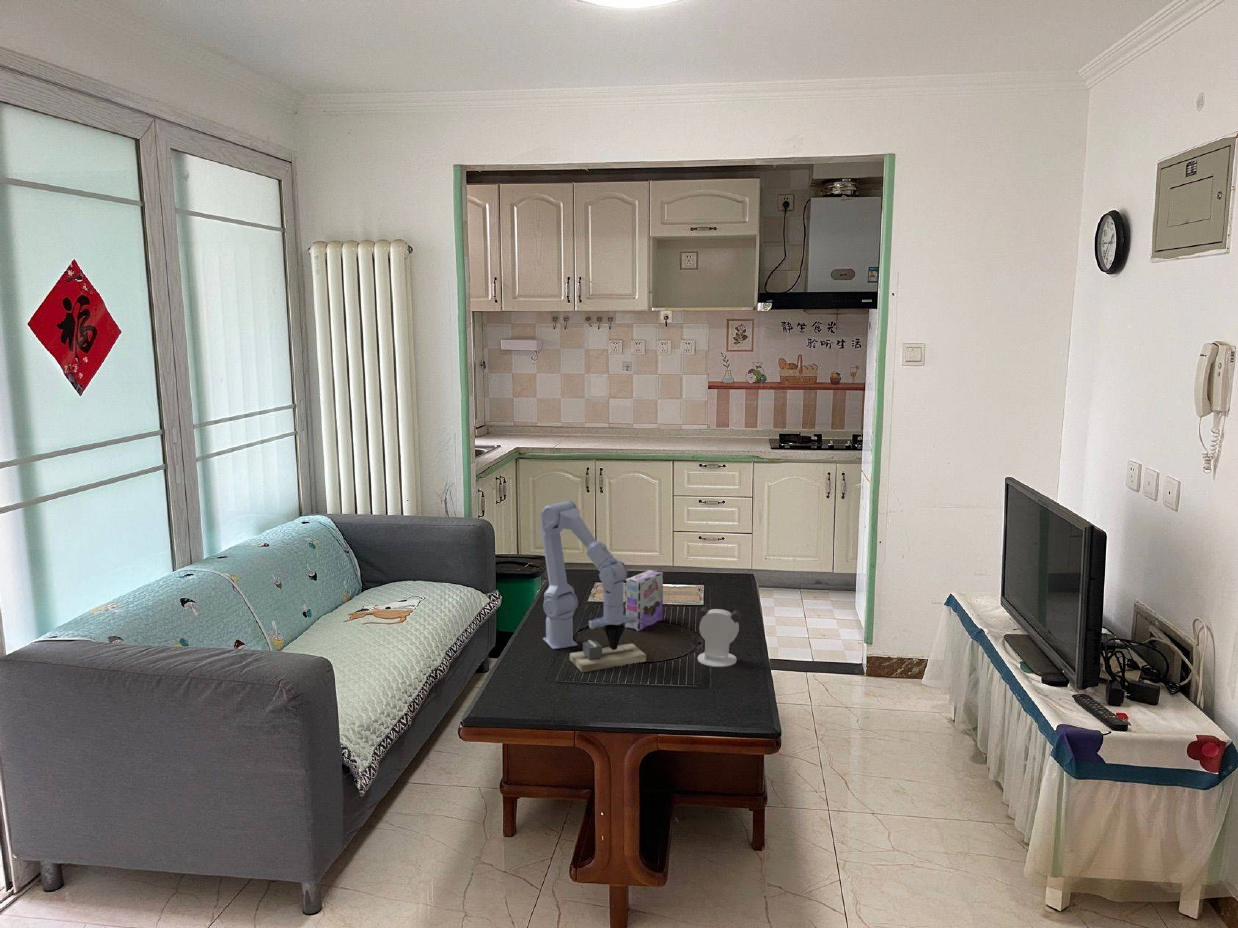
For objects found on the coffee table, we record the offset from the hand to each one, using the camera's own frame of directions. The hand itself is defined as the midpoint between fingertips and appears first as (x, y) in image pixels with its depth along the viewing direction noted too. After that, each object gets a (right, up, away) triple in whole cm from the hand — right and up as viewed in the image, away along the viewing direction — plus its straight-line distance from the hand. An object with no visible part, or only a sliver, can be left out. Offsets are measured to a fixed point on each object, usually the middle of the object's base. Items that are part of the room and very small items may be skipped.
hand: (613, 648), depth 256 cm
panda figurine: (+31, -4, +1) cm, 31 cm away
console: (-2, -4, 0) cm, 4 cm away
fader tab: (-6, -1, -2) cm, 7 cm away
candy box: (+10, +1, +31) cm, 32 cm away
